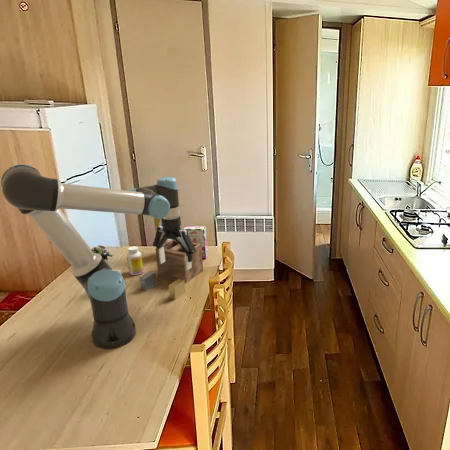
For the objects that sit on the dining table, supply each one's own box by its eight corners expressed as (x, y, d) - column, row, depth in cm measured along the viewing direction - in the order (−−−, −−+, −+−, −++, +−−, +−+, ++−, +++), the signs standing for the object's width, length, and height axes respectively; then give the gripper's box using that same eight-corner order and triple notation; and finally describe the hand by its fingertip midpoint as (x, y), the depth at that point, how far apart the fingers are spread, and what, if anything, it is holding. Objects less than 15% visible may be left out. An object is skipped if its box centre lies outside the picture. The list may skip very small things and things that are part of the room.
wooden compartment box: (185, 283, 166) (183, 254, 162) (158, 275, 174) (155, 248, 169) (203, 270, 177) (201, 243, 173) (176, 264, 185) (174, 238, 181)
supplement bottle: (146, 271, 179) (143, 246, 175) (136, 276, 174) (133, 251, 170) (136, 268, 183) (133, 244, 178) (126, 273, 177) (122, 249, 173)
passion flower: (105, 269, 195) (116, 251, 193) (95, 275, 184) (107, 256, 182) (87, 257, 195) (98, 239, 193) (77, 263, 184) (88, 243, 182)
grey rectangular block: (146, 291, 161) (144, 278, 159) (141, 289, 162) (139, 277, 160) (156, 284, 167) (155, 272, 165) (151, 282, 168) (150, 270, 166)
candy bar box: (208, 255, 194) (206, 225, 189) (206, 259, 190) (204, 229, 184) (187, 254, 196) (185, 225, 191) (185, 258, 192) (182, 228, 186)
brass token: (175, 299, 153) (174, 287, 151) (169, 298, 155) (168, 285, 153) (185, 292, 159) (184, 279, 157) (179, 290, 160) (178, 278, 158)
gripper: (202, 217, 142) (205, 267, 149) (152, 210, 154) (158, 256, 161) (191, 223, 136) (195, 275, 143) (140, 215, 148) (146, 263, 155)
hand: (175, 265), depth 152 cm, fingers open, 13 cm apart
